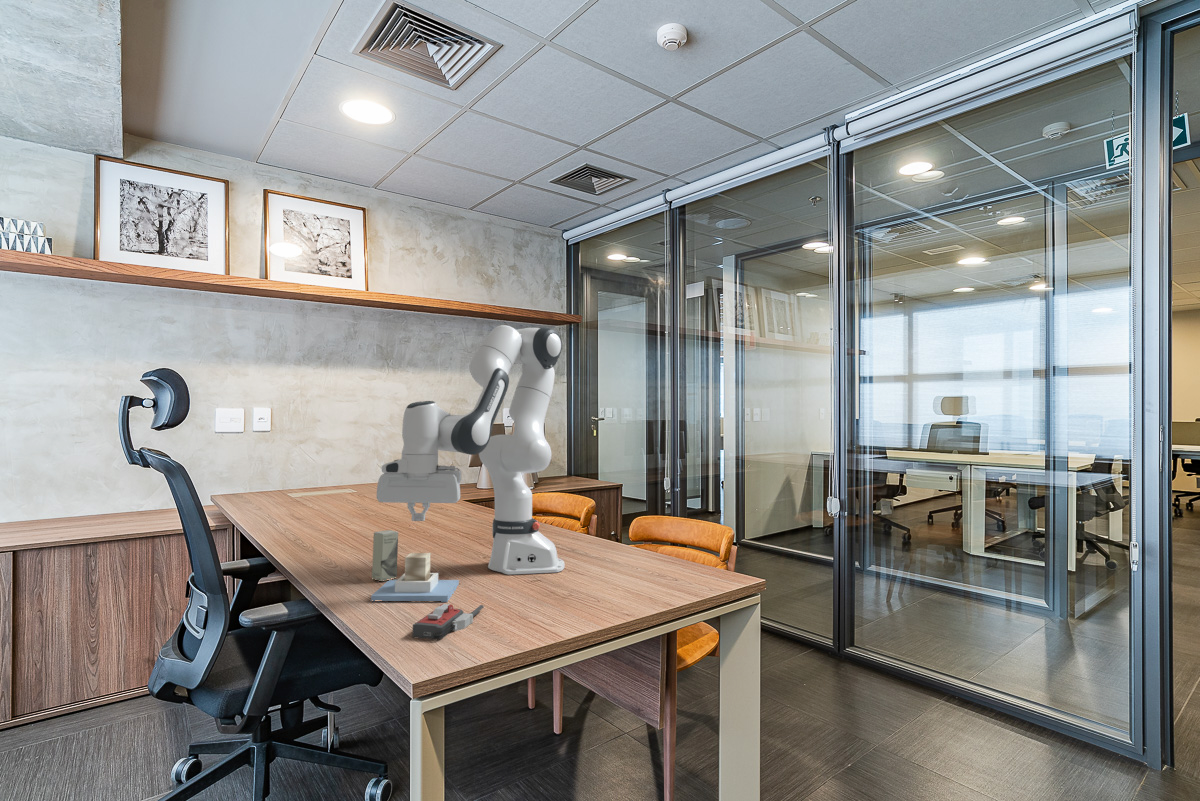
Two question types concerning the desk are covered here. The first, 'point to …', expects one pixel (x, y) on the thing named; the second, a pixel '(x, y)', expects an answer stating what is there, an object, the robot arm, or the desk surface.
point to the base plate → (416, 590)
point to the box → (385, 555)
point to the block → (417, 567)
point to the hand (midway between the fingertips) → (418, 520)
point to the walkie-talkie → (443, 622)
